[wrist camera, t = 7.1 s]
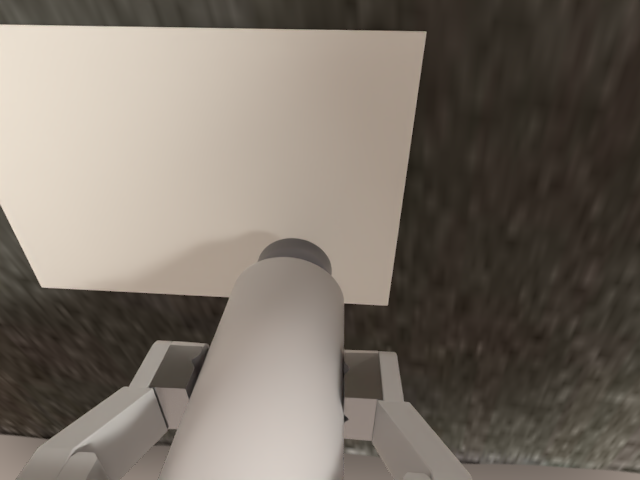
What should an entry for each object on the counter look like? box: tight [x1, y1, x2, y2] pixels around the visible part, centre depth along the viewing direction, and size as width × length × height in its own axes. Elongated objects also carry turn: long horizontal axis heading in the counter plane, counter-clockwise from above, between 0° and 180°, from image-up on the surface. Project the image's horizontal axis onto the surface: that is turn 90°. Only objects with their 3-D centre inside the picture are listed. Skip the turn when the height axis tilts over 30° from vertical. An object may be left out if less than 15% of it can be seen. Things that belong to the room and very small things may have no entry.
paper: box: [0, 24, 427, 306], centre depth 16 cm, size 18×12×1 cm, turn 89°
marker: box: [158, 238, 344, 480], centre depth 10 cm, size 4×4×12 cm
